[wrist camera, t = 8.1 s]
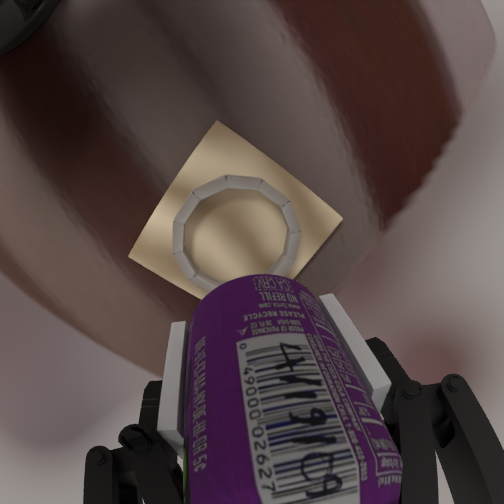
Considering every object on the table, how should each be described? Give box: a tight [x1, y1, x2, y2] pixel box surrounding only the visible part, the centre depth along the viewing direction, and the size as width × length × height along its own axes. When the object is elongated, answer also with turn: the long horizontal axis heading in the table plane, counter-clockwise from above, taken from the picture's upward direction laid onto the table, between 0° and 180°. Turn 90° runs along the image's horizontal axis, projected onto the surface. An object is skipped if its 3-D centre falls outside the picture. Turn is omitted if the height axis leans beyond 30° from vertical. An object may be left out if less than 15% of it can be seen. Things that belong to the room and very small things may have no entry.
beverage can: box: [183, 274, 403, 504], centre depth 10 cm, size 7×7×12 cm
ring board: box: [128, 120, 343, 300], centre depth 27 cm, size 16×16×2 cm
